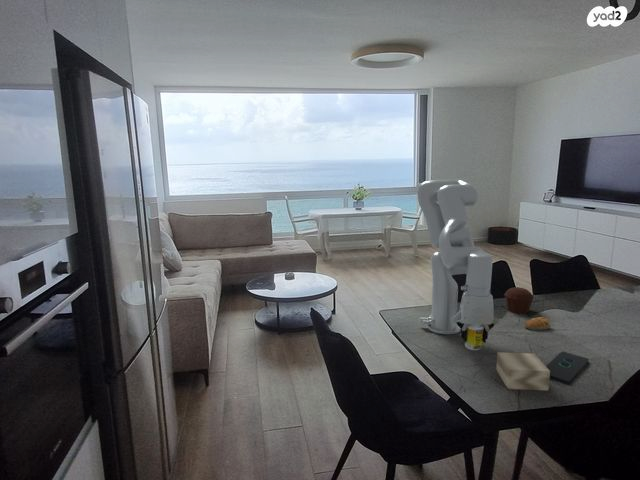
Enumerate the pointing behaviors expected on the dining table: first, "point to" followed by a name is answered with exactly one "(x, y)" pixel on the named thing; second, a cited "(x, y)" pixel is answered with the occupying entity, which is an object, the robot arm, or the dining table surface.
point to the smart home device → (566, 367)
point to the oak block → (523, 371)
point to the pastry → (538, 324)
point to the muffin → (518, 300)
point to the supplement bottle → (474, 337)
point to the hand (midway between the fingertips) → (473, 340)
